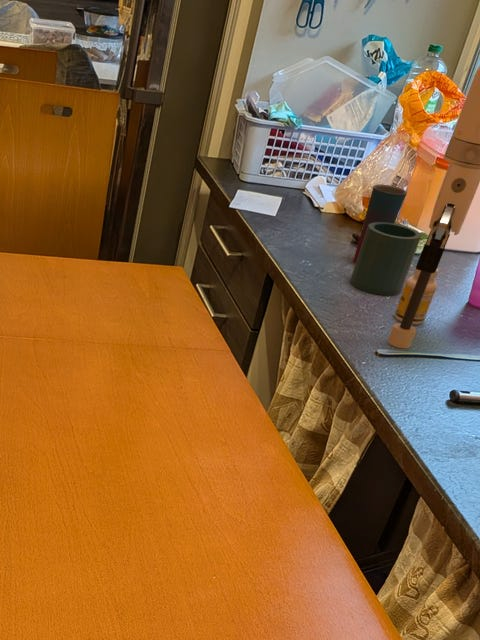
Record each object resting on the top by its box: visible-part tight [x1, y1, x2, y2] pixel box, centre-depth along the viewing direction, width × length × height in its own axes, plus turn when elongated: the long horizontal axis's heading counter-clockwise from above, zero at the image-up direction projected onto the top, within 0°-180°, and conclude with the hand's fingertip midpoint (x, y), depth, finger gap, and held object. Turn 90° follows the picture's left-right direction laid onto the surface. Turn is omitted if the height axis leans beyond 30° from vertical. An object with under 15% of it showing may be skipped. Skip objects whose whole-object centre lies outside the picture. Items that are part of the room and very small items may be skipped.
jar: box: [349, 222, 422, 296], centre depth 187 cm, size 10×10×11 cm
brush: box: [387, 271, 432, 349], centre depth 162 cm, size 4×4×14 cm
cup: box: [353, 183, 408, 264], centre depth 197 cm, size 7×7×15 cm
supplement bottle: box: [394, 267, 440, 326], centre depth 174 cm, size 5×5×10 cm
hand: (428, 263), depth 158 cm, fingers open, 9 cm apart
